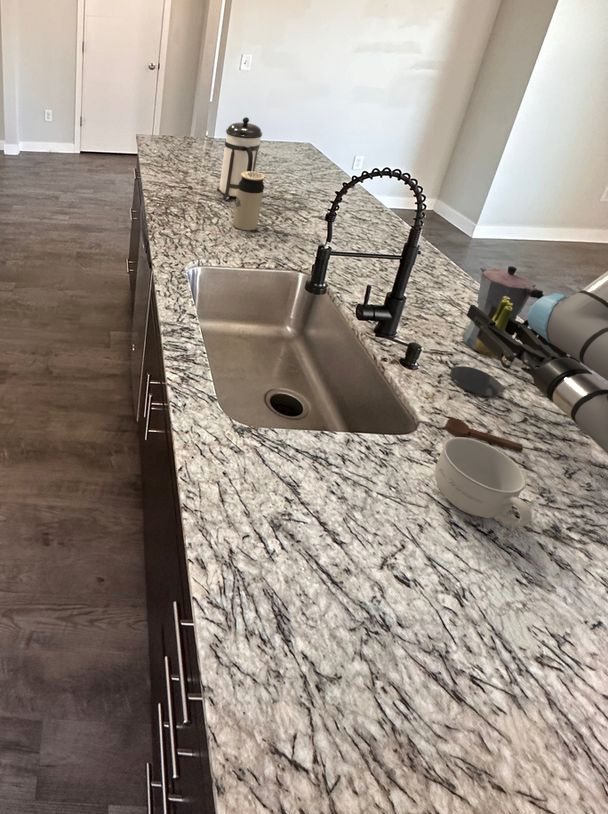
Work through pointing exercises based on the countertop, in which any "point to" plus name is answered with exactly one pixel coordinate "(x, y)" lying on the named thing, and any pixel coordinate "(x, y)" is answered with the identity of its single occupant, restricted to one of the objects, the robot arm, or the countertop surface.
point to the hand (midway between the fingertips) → (481, 310)
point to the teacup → (481, 480)
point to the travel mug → (248, 200)
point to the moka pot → (497, 287)
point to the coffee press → (239, 155)
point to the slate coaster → (476, 381)
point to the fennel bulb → (497, 323)
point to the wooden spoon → (479, 435)
